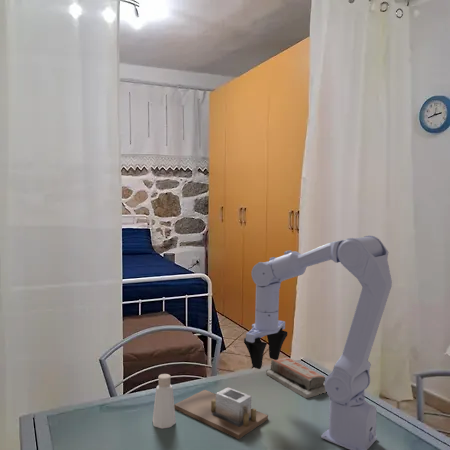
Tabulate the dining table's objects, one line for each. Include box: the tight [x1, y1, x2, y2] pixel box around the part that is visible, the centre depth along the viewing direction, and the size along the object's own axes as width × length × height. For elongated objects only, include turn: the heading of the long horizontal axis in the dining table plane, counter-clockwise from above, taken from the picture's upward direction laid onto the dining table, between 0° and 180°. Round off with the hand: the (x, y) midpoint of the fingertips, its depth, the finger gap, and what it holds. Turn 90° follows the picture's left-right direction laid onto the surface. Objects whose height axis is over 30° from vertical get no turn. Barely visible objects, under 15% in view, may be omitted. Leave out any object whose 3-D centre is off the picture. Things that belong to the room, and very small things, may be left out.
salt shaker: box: [152, 373, 177, 429], centre depth 100 cm, size 5×5×11 cm
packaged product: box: [265, 356, 327, 399], centre depth 123 cm, size 18×5×10 cm
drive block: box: [215, 387, 252, 424], centre depth 102 cm, size 7×4×5 cm, turn 50°
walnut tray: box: [174, 389, 269, 440], centre depth 104 cm, size 20×11×4 cm, turn 50°
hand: (265, 363), depth 109 cm, fingers open, 7 cm apart
